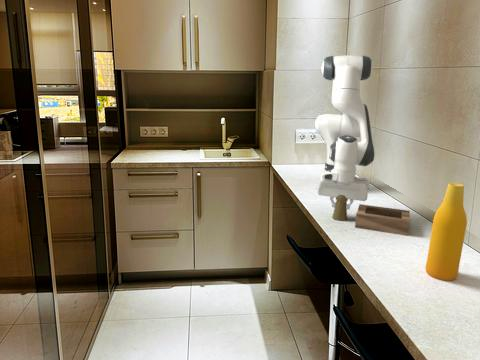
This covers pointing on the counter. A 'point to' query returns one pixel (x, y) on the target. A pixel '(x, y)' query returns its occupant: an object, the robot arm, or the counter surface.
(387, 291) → the counter surface
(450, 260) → the beer bottle
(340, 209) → the cork
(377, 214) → the well block
